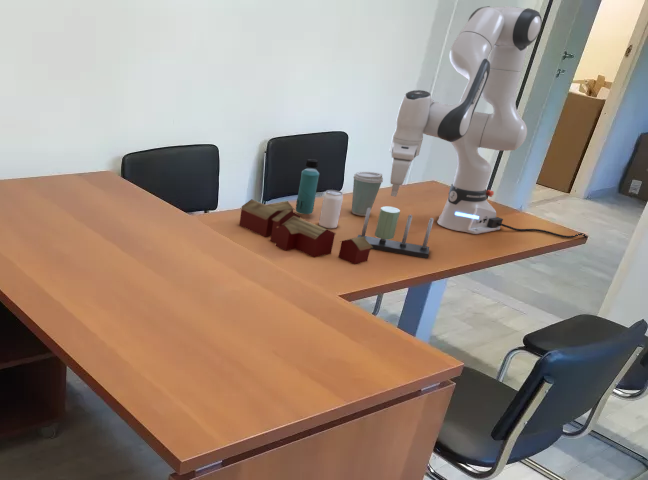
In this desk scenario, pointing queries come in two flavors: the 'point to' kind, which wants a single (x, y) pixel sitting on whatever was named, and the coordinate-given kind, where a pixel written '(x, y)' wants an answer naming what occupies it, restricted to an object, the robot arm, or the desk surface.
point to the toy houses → (298, 232)
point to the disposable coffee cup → (365, 191)
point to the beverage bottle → (307, 188)
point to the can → (331, 209)
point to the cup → (387, 222)
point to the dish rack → (395, 245)
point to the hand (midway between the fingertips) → (394, 191)
